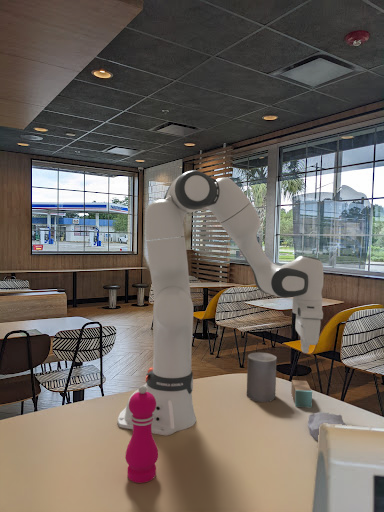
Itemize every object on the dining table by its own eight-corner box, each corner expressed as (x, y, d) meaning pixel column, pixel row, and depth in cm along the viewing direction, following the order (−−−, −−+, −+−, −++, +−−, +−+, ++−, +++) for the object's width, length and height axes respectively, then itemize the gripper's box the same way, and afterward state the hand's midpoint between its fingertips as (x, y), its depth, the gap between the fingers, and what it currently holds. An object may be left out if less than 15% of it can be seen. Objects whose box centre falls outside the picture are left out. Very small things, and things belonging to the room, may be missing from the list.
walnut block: (296, 391, 123) (291, 380, 133) (295, 406, 123) (291, 394, 133) (312, 392, 123) (306, 380, 133) (311, 407, 123) (306, 395, 133)
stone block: (312, 448, 102) (352, 444, 100) (309, 430, 102) (348, 426, 100) (307, 428, 114) (342, 425, 112) (304, 412, 114) (339, 408, 112)
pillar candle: (243, 391, 135) (244, 348, 135) (270, 390, 137) (271, 348, 136) (250, 402, 126) (251, 357, 125) (279, 401, 127) (280, 356, 126)
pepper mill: (129, 488, 81) (130, 394, 80) (121, 469, 88) (122, 382, 87) (162, 480, 84) (163, 389, 83) (152, 462, 91) (153, 378, 90)
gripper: (292, 302, 132) (289, 342, 132) (301, 313, 111) (299, 360, 112) (311, 303, 131) (308, 344, 131) (324, 314, 110) (321, 362, 111)
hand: (304, 351), depth 121 cm, fingers closed
